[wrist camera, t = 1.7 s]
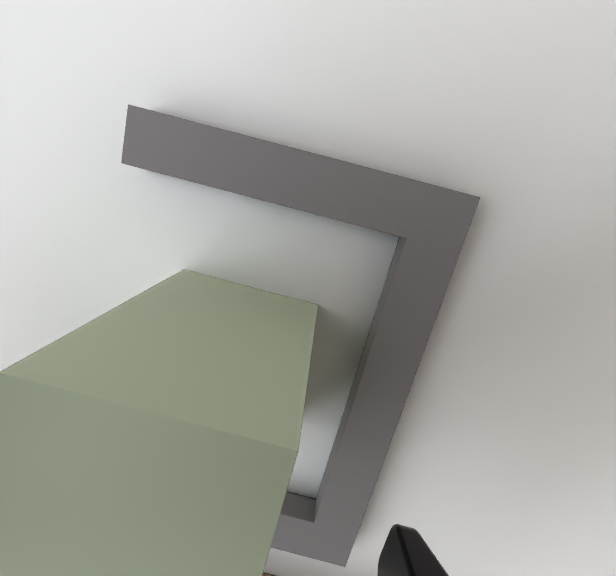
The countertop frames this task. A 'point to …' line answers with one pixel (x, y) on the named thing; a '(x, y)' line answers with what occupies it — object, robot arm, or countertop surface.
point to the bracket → (390, 311)
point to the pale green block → (156, 435)
